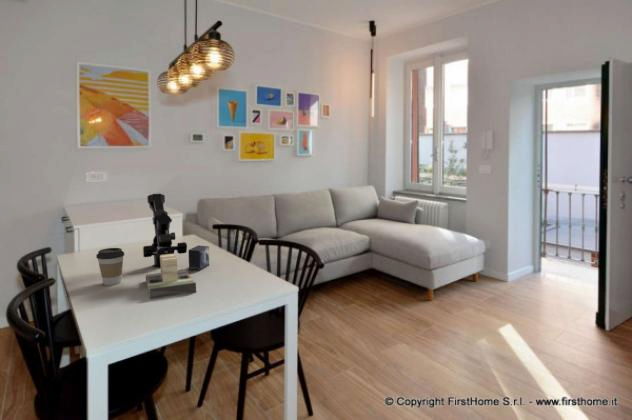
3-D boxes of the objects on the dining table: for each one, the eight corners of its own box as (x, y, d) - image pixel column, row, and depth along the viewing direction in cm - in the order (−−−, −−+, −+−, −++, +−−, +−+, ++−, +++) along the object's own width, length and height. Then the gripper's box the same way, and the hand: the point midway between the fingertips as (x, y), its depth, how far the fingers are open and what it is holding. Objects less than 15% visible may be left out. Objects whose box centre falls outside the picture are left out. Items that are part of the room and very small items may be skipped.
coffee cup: (132, 280, 185) (130, 248, 183) (112, 288, 174) (109, 254, 172) (112, 277, 188) (110, 246, 186) (92, 285, 178) (89, 252, 176)
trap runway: (145, 281, 184) (145, 272, 183) (186, 275, 191) (186, 267, 191) (150, 298, 161) (149, 289, 161) (196, 292, 169) (195, 282, 169)
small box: (200, 271, 199) (199, 250, 198) (188, 270, 200) (187, 249, 199) (210, 265, 209) (209, 245, 208) (198, 264, 211) (197, 245, 209)
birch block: (161, 276, 180) (159, 254, 178) (175, 274, 183) (174, 253, 181) (163, 282, 172) (161, 259, 171) (177, 280, 175) (176, 258, 173)
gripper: (141, 228, 179) (145, 258, 171) (185, 225, 187) (190, 253, 179) (142, 242, 187) (144, 271, 179) (183, 238, 195) (188, 266, 187)
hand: (167, 265), depth 181 cm, fingers closed
